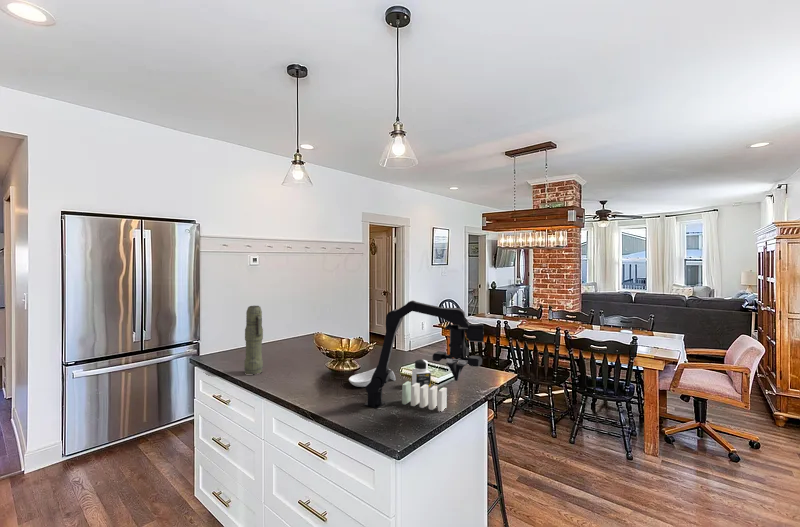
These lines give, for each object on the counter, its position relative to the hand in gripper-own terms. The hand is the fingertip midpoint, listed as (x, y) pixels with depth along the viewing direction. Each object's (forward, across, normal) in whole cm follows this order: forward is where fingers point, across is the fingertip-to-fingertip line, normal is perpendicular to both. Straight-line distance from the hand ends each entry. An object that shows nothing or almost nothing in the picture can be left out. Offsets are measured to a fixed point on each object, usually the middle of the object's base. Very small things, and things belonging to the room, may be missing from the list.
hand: (456, 380), depth 150 cm
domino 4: (+12, +6, 0) cm, 14 cm away
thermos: (+13, +111, +2) cm, 112 cm away
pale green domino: (+12, +22, 0) cm, 25 cm away
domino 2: (+12, +14, 0) cm, 19 cm away
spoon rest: (+13, +48, -15) cm, 52 cm away
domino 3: (+12, +10, 0) cm, 16 cm away
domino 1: (+12, +18, 0) cm, 22 cm away
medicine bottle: (+13, +26, -23) cm, 37 cm away
